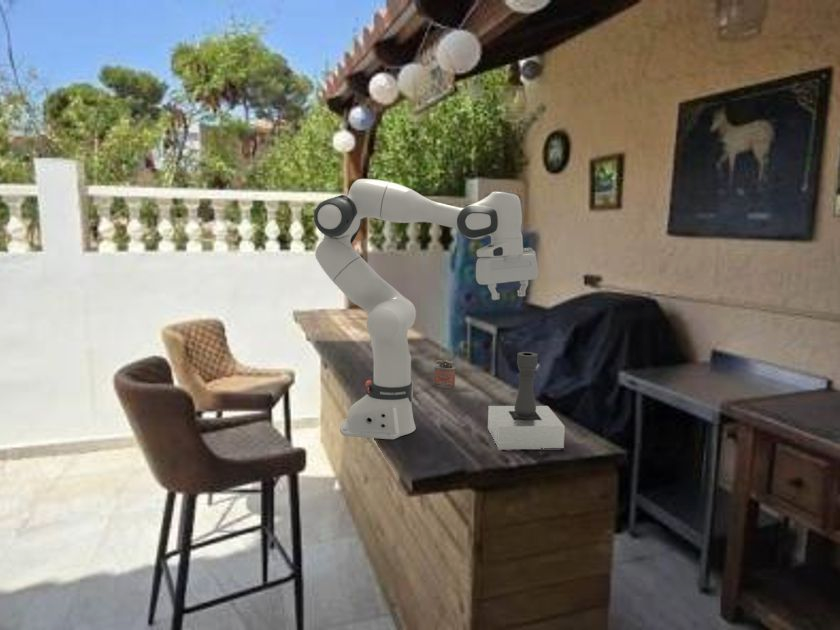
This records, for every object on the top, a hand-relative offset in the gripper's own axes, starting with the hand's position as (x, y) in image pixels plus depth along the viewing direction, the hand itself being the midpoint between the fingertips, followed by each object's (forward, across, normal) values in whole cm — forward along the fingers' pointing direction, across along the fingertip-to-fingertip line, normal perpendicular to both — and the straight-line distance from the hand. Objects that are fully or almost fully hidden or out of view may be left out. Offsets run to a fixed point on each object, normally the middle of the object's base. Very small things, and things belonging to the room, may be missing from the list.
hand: (508, 297), depth 170 cm
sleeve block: (+41, 0, +4) cm, 41 cm away
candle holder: (+41, 0, +4) cm, 41 cm away
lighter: (+38, -11, -53) cm, 66 cm away
